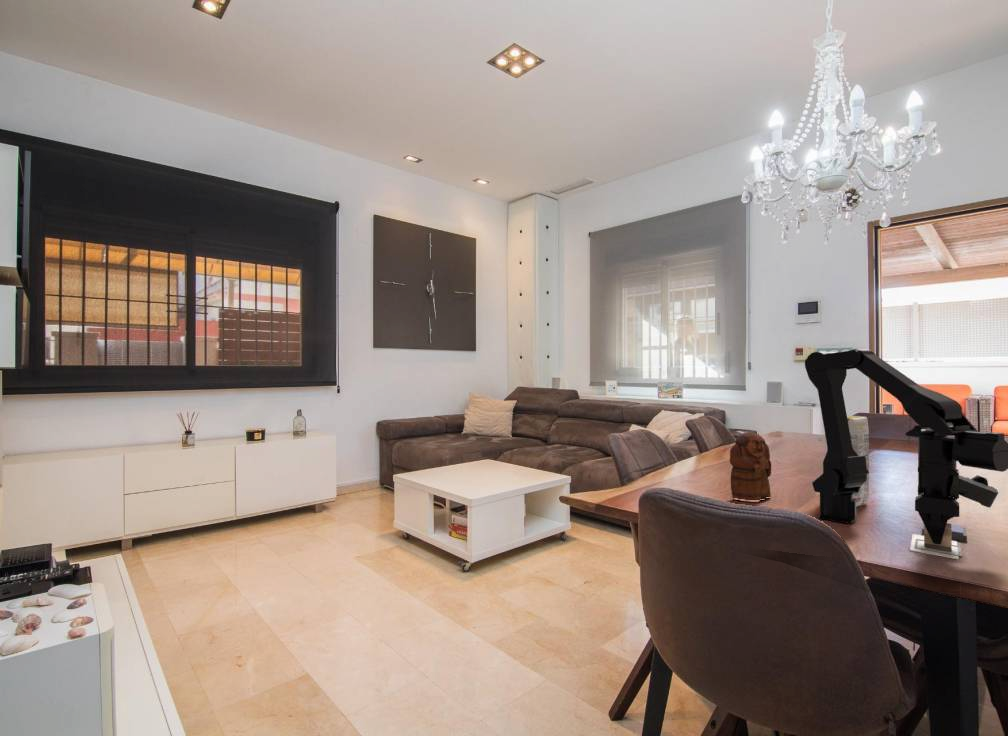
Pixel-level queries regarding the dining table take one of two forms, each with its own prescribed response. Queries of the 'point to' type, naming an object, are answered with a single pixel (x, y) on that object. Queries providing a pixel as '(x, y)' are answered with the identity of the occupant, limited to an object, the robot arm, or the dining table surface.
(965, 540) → the pad
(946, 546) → the stamp
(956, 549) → the white rectangular plate
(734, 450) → the wooden figurine
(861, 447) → the juice carton
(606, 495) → the dining table surface
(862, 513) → the dining table surface
